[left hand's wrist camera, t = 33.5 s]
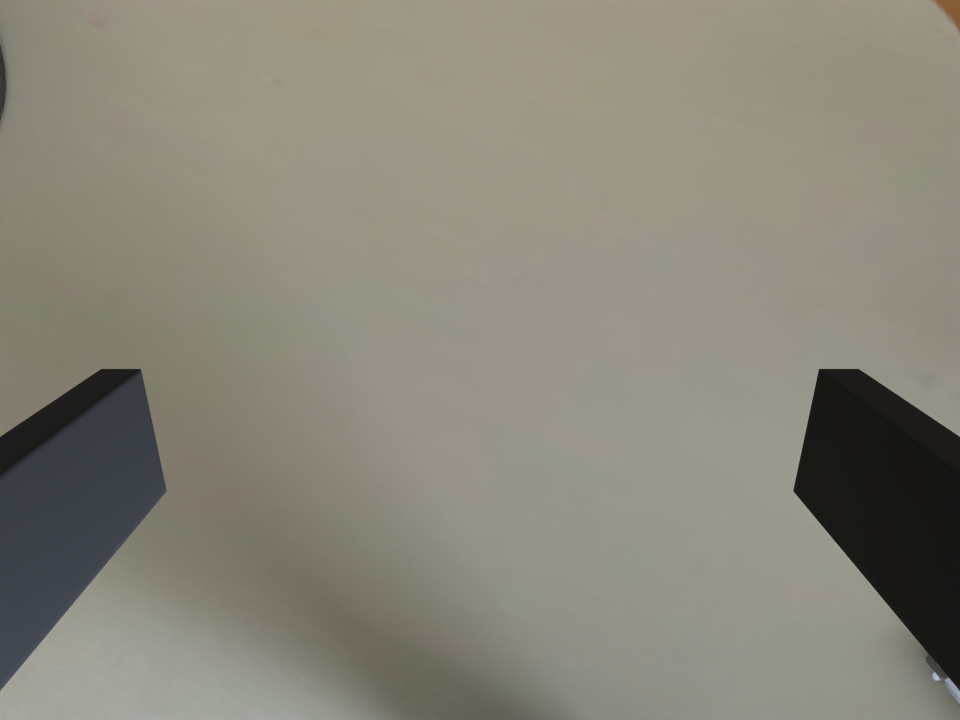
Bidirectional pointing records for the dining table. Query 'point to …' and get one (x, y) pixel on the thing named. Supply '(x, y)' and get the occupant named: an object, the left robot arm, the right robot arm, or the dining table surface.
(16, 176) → the dining table surface
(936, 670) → the pistol
